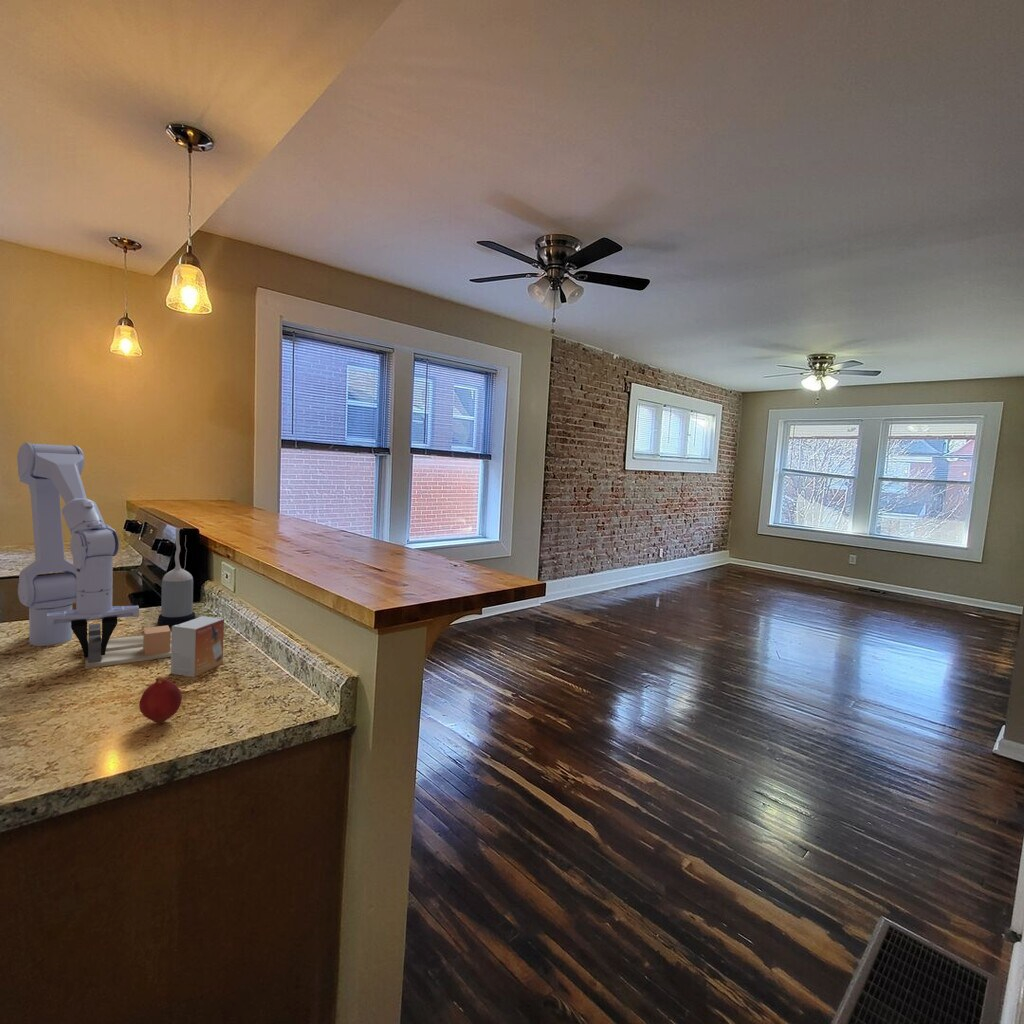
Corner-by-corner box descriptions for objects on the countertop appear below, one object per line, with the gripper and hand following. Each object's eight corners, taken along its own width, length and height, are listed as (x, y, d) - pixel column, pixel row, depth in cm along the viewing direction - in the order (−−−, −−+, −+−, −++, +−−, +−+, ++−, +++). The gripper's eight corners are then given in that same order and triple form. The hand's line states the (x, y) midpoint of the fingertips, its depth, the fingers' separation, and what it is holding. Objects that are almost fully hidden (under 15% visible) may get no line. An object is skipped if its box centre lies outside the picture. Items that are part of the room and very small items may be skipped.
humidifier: (156, 623, 136) (157, 526, 134) (193, 619, 141) (195, 526, 139) (158, 632, 130) (159, 531, 127) (197, 628, 135) (199, 530, 132)
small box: (194, 681, 104) (195, 629, 103) (169, 677, 105) (170, 625, 104) (223, 667, 112) (225, 618, 111) (200, 663, 113) (201, 615, 112)
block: (143, 648, 115) (143, 628, 114) (168, 645, 118) (168, 625, 117) (144, 655, 111) (145, 634, 111) (170, 651, 114) (170, 631, 114)
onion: (152, 714, 91) (153, 668, 90) (188, 714, 91) (188, 669, 91) (131, 731, 85) (131, 682, 84) (169, 731, 86) (170, 683, 85)
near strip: (85, 658, 110) (85, 635, 109) (176, 646, 119) (177, 625, 119) (85, 668, 105) (85, 645, 104) (180, 655, 114) (180, 633, 114)
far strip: (85, 645, 116) (85, 623, 116) (172, 635, 126) (172, 615, 126) (85, 654, 111) (85, 632, 111) (175, 643, 121) (175, 622, 121)
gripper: (45, 597, 99) (45, 667, 100) (140, 590, 108) (139, 655, 109) (47, 588, 105) (48, 655, 106) (137, 582, 114) (137, 644, 115)
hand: (94, 654), depth 108 cm, fingers closed on near strip, 2 cm apart
